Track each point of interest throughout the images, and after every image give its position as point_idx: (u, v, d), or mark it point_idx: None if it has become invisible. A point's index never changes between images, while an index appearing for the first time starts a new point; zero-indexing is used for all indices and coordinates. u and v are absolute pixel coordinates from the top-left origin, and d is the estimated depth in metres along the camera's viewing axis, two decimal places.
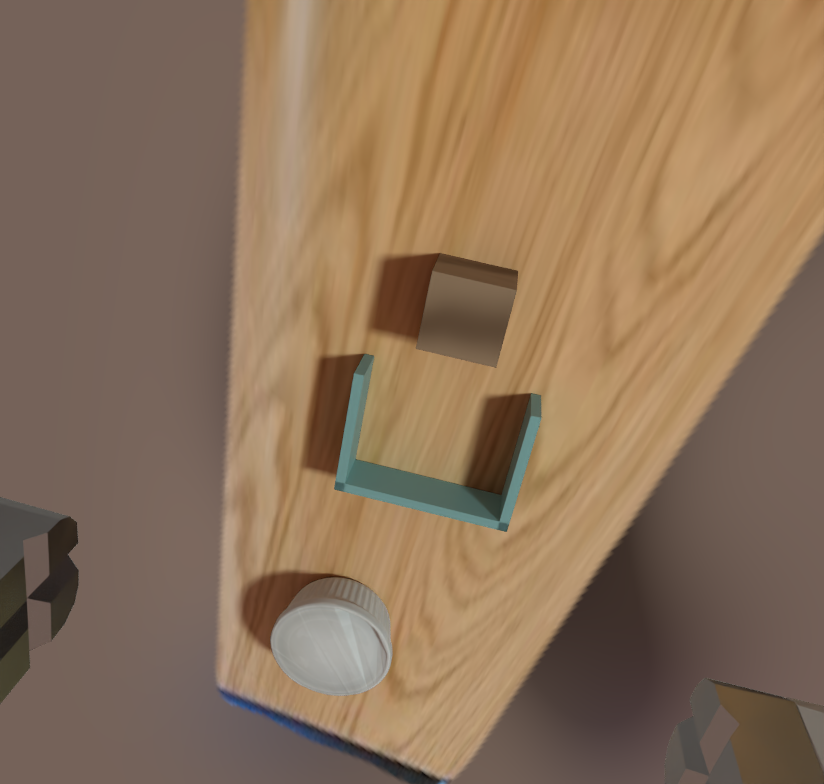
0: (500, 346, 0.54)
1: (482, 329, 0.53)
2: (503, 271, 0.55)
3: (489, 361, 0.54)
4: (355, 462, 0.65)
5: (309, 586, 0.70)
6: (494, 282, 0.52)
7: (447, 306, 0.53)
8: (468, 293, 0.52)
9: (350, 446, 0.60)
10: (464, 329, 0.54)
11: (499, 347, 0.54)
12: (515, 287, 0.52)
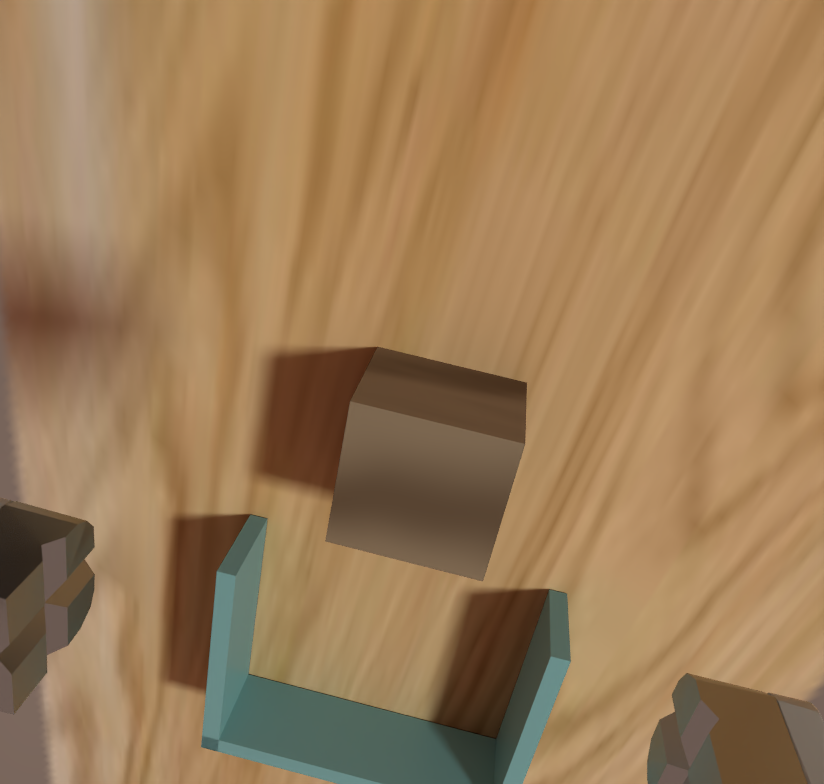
0: (491, 545, 0.27)
1: (455, 513, 0.26)
2: (498, 387, 0.28)
3: (469, 570, 0.27)
4: (247, 682, 0.38)
5: None
6: (479, 423, 0.25)
7: (384, 469, 0.26)
8: (425, 446, 0.25)
9: (222, 685, 0.33)
10: (419, 512, 0.27)
11: (489, 546, 0.27)
12: (522, 434, 0.25)
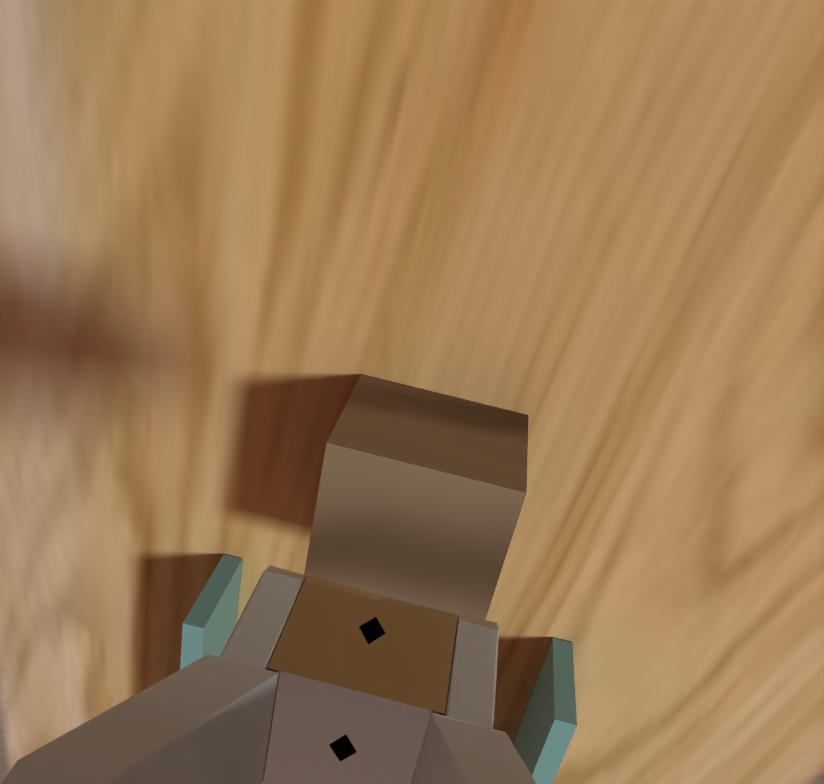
0: (487, 602, 0.24)
1: (447, 567, 0.23)
2: (496, 422, 0.25)
3: None
4: None
5: None
6: (474, 468, 0.22)
7: (366, 518, 0.23)
8: (413, 493, 0.22)
9: None
10: (406, 565, 0.23)
11: (485, 604, 0.24)
12: (523, 481, 0.22)
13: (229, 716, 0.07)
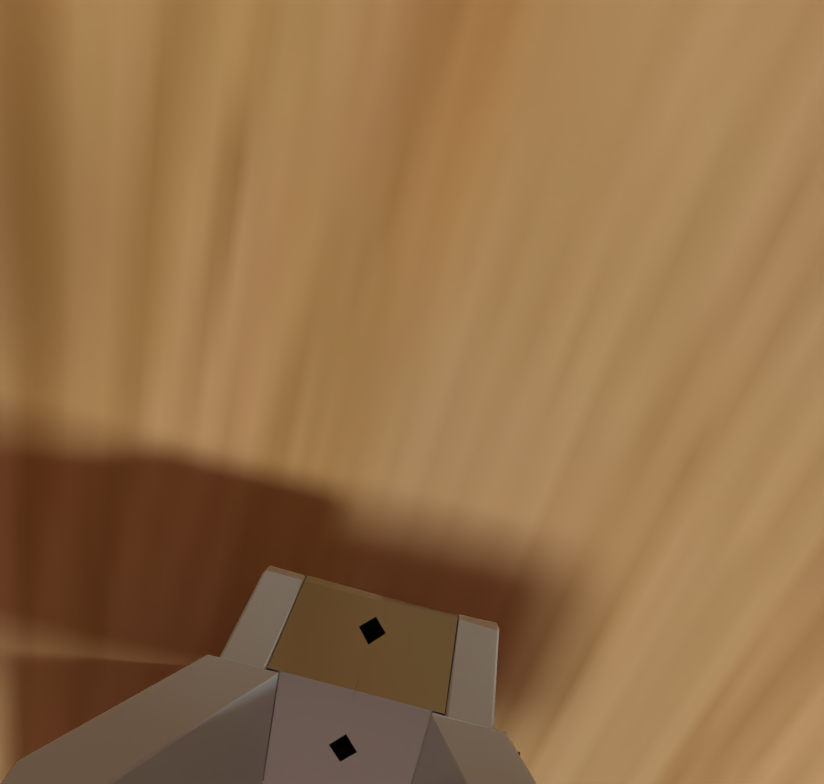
0: None
1: None
2: None
3: None
4: None
5: None
6: None
7: None
8: None
9: None
10: None
11: None
12: None
13: (229, 715, 0.07)
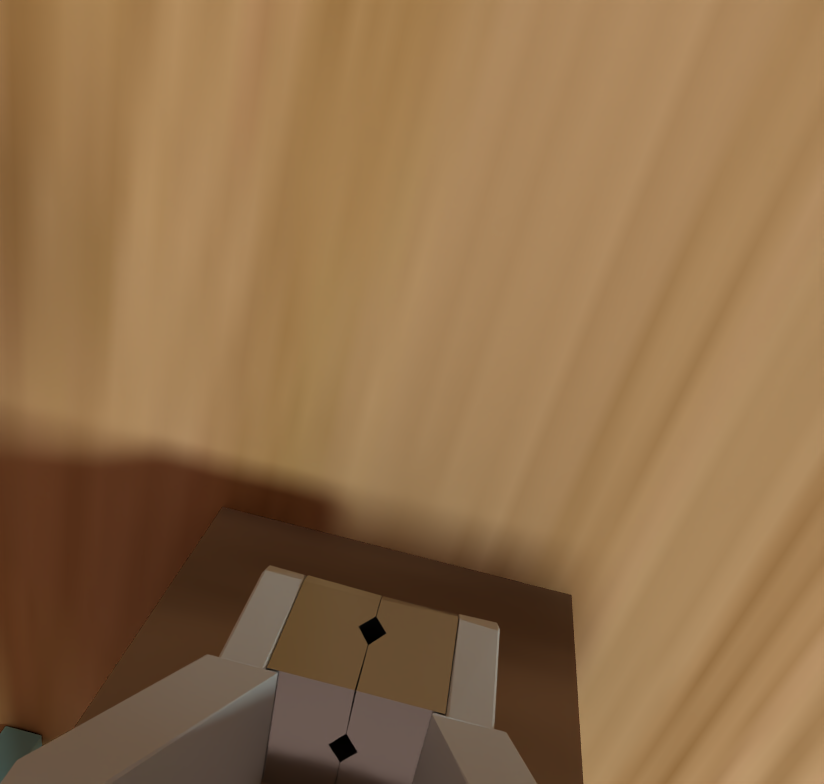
0: None
1: None
2: (504, 629, 0.11)
3: None
4: None
5: None
6: None
7: None
8: None
9: None
10: None
11: None
12: None
13: (228, 715, 0.07)
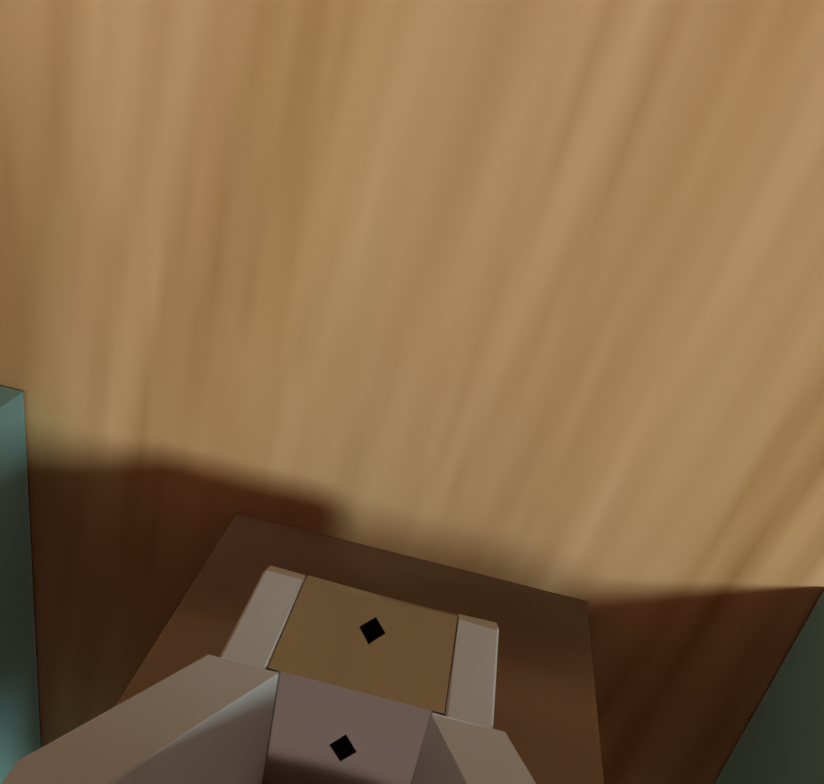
0: None
1: None
2: (521, 632, 0.11)
3: None
4: None
5: None
6: None
7: None
8: None
9: None
10: None
11: None
12: None
13: (229, 716, 0.07)
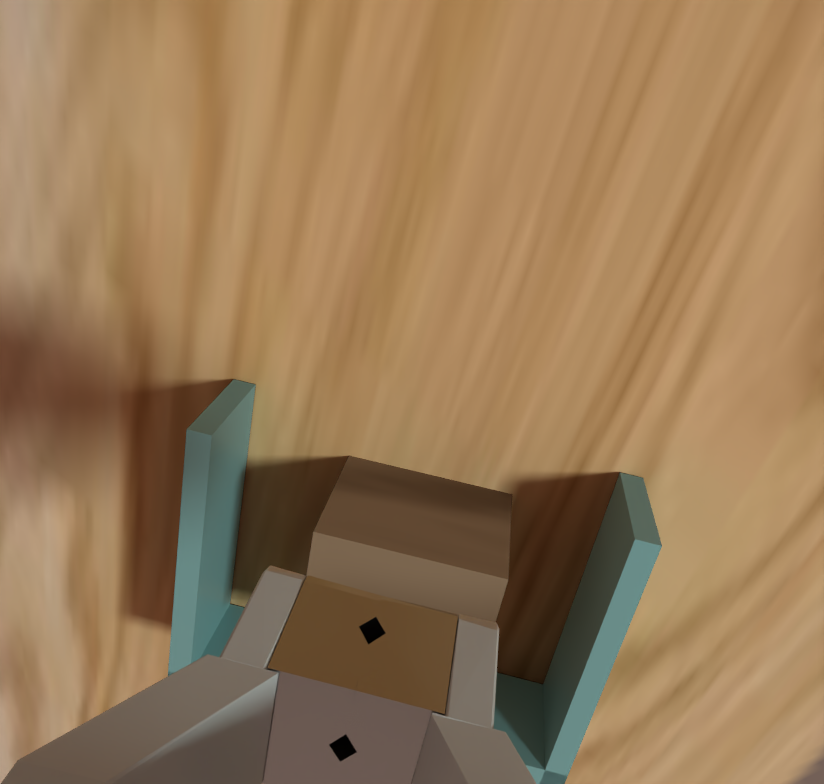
0: None
1: None
2: (480, 503, 0.26)
3: None
4: (228, 612, 0.30)
5: None
6: (458, 554, 0.23)
7: None
8: (398, 580, 0.23)
9: (194, 598, 0.25)
10: None
11: None
12: (505, 566, 0.23)
13: (229, 716, 0.07)
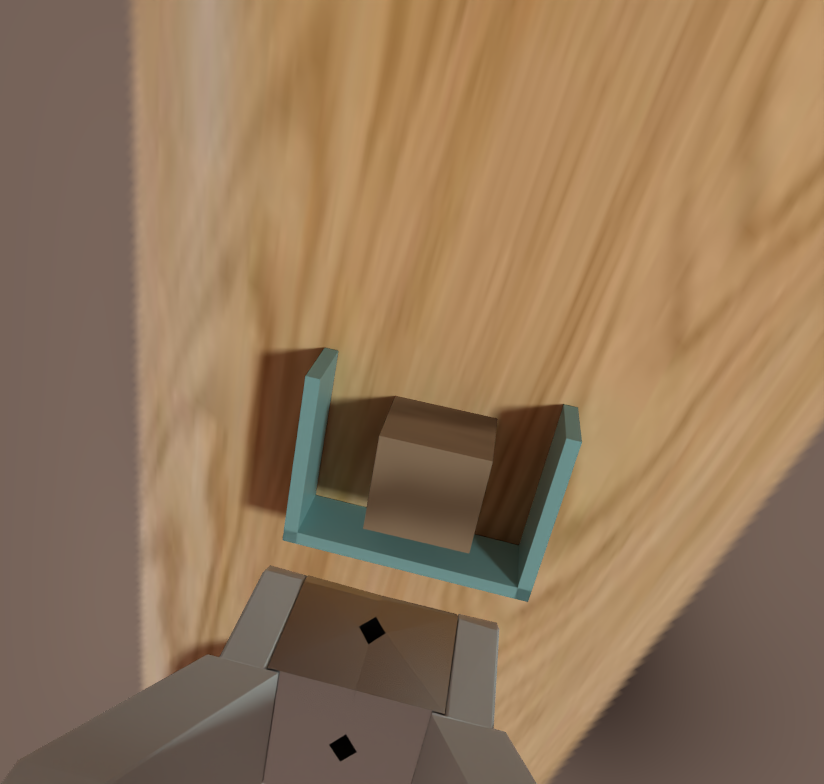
0: (473, 528, 0.40)
1: (449, 507, 0.40)
2: (477, 422, 0.42)
3: (460, 546, 0.41)
4: (315, 499, 0.46)
5: None
6: (463, 448, 0.39)
7: (402, 479, 0.40)
8: (429, 464, 0.39)
9: (303, 481, 0.42)
10: (425, 507, 0.40)
11: (472, 529, 0.40)
12: (491, 455, 0.39)
13: (229, 715, 0.07)
